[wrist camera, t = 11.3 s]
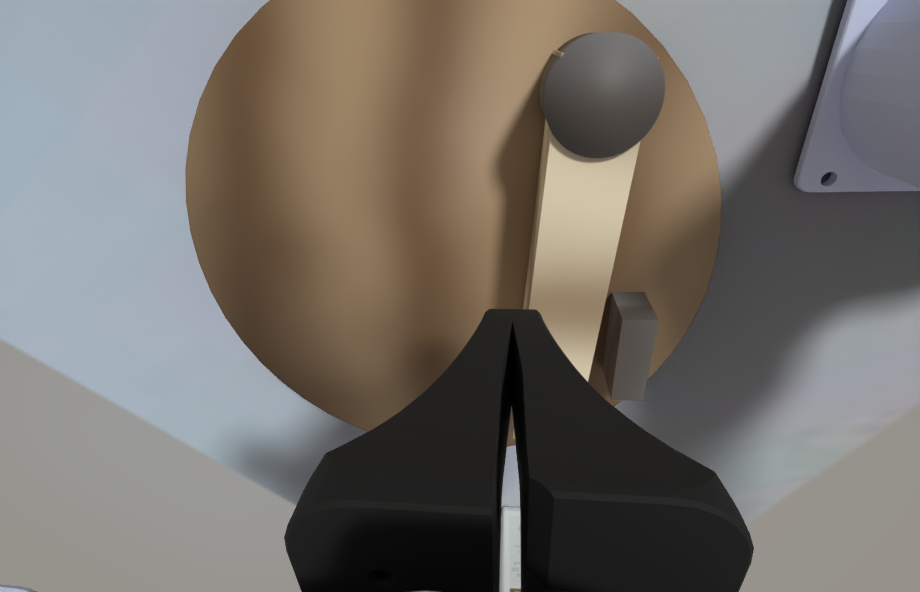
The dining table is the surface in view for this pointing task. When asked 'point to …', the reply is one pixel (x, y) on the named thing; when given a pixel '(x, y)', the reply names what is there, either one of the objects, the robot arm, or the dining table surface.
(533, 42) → the stool seat
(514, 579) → the syrup box
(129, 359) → the dining table surface
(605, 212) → the hinged leg
